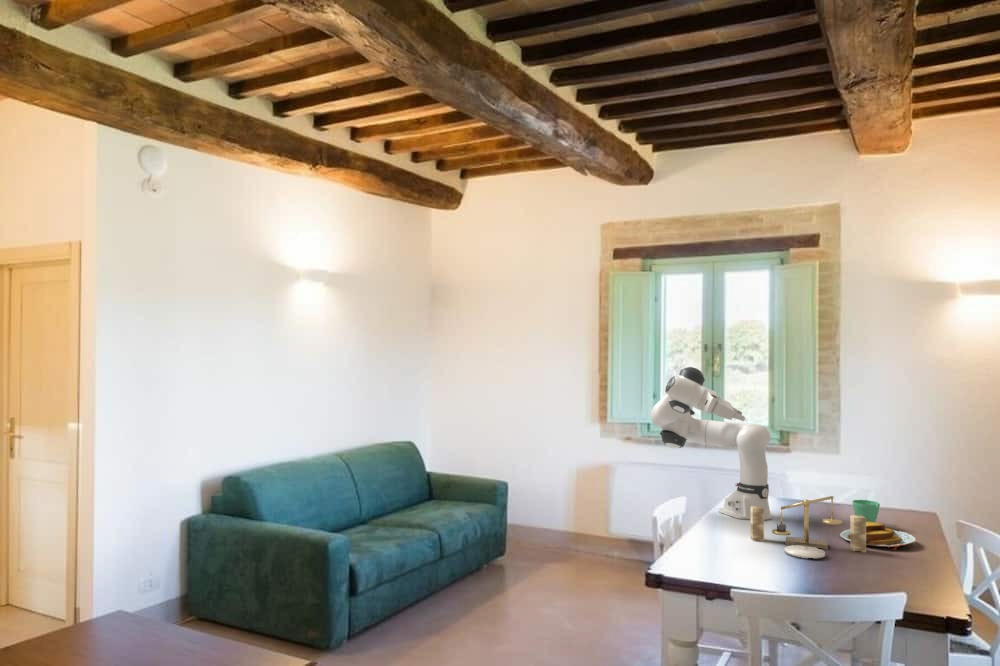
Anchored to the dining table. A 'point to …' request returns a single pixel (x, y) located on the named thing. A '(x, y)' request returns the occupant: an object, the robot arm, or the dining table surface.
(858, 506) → the mug
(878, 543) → the food on plate
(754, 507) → the column
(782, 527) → the balance
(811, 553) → the dish
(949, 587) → the dining table surface
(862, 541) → the column
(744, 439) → the robot arm
